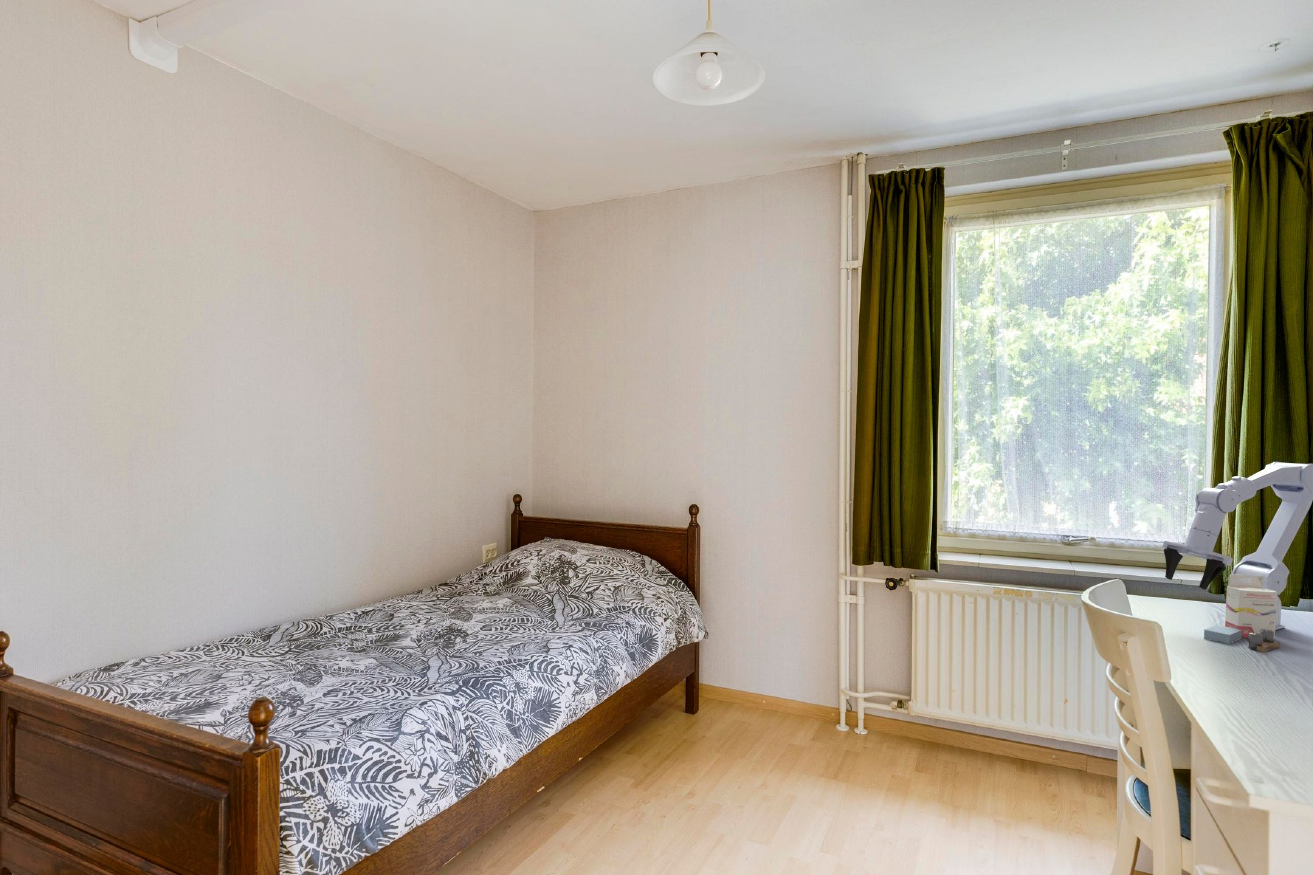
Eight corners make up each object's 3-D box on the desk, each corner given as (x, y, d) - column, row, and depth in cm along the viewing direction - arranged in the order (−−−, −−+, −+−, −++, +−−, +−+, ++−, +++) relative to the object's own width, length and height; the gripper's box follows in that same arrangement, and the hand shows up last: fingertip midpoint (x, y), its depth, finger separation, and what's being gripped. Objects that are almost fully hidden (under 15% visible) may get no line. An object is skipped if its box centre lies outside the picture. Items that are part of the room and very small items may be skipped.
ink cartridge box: (1238, 638, 172) (1240, 577, 172) (1224, 632, 177) (1226, 573, 177) (1276, 639, 171) (1278, 579, 171) (1261, 633, 176) (1263, 574, 176)
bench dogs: (1262, 643, 168) (1263, 628, 168) (1279, 647, 165) (1280, 632, 165) (1246, 648, 164) (1247, 633, 164) (1263, 652, 161) (1264, 636, 161)
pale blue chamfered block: (1216, 634, 176) (1216, 624, 176) (1241, 640, 172) (1241, 629, 172) (1203, 639, 171) (1204, 629, 171) (1229, 645, 167) (1229, 634, 167)
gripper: (1165, 521, 183) (1146, 570, 182) (1231, 536, 170) (1211, 588, 169) (1176, 529, 186) (1158, 577, 185) (1242, 544, 174) (1223, 596, 173)
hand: (1184, 583), depth 178 cm, fingers open, 7 cm apart
